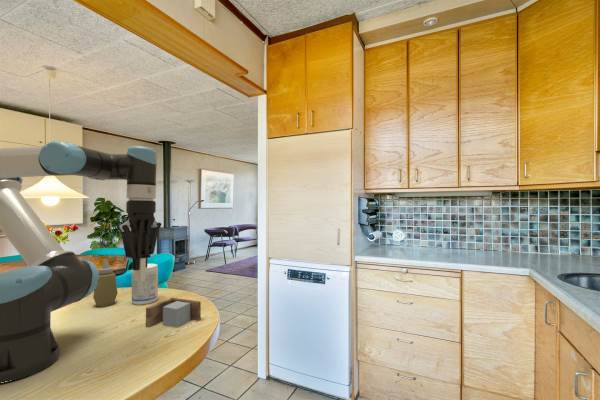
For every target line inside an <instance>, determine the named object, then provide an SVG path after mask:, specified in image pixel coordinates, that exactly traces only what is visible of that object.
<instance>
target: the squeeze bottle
mask: <svg viewBox="0 0 600 400" xmlns="http://www.w3.org/2000/svg"><path fill="white" fill-rule="evenodd" d="M98 273H99V280H98V284H97V287H96V288H95V290H94V291H93V301H94V303H95V305H96V307H107V306H111V305H113V304H115V302H116V299H117V295H118V286H117V279H116V278H117V275H116V273H115V272H114V270H113V267H111V266H110V263H109V259H107V258H105V259H103V263H102V266H101V268H99V269H98Z"/></svg>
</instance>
